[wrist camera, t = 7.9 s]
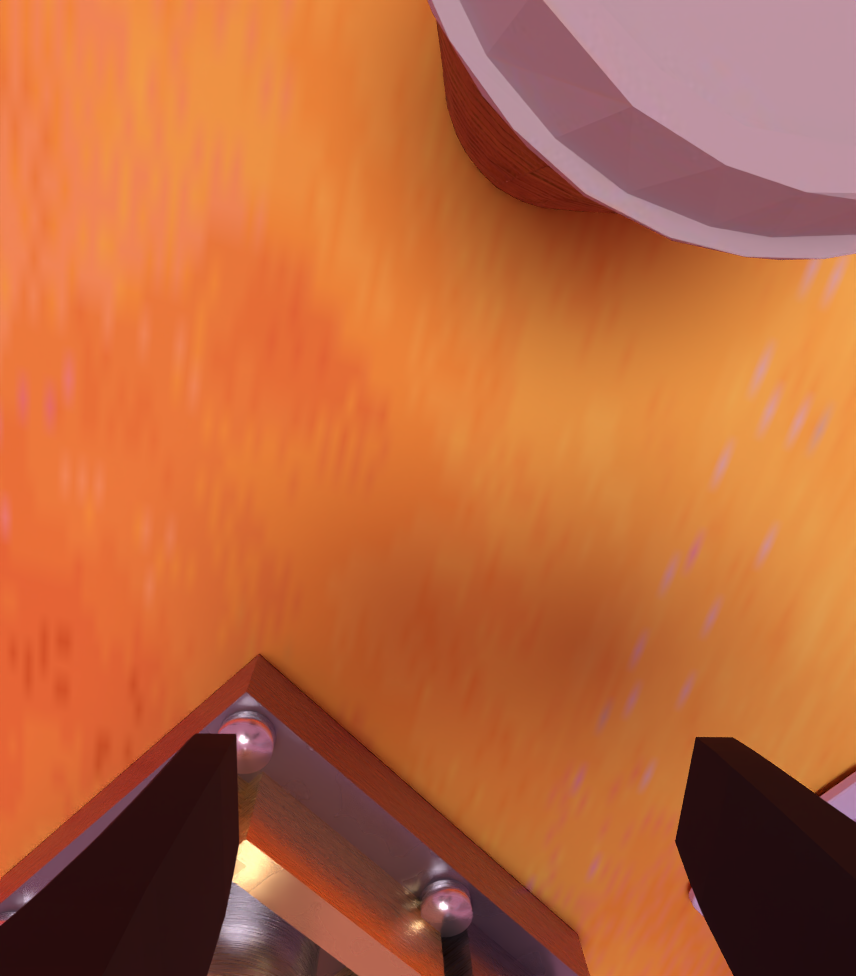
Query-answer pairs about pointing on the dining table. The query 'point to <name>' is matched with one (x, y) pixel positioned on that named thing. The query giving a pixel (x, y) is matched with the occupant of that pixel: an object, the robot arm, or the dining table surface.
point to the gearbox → (336, 848)
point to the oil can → (260, 942)
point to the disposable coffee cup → (666, 114)
